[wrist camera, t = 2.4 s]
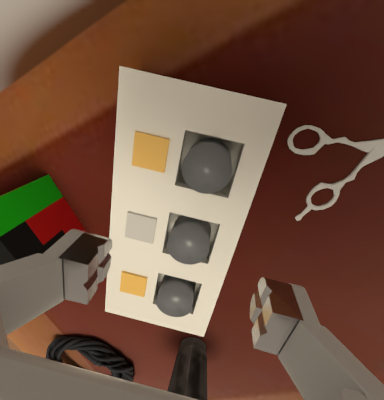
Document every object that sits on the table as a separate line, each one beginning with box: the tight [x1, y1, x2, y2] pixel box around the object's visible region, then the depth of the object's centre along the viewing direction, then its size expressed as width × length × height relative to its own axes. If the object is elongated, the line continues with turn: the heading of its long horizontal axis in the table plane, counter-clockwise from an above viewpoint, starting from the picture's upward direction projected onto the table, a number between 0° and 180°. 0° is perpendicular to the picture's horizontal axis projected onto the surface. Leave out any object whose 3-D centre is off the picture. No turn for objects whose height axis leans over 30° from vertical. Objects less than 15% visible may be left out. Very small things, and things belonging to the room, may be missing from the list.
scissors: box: [287, 125, 384, 221], centre depth 24 cm, size 11×1×20 cm
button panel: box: [105, 66, 287, 337], centre depth 28 cm, size 14×30×5 cm, turn 168°
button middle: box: [167, 215, 211, 265], centre depth 26 cm, size 4×4×4 cm
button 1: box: [182, 138, 232, 194], centre depth 22 cm, size 4×4×4 cm
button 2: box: [156, 275, 196, 317], centre depth 29 cm, size 4×4×4 cm
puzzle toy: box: [0, 174, 86, 265], centre depth 29 cm, size 10×10×10 cm
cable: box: [46, 336, 134, 382], centre depth 44 cm, size 17×14×4 cm
